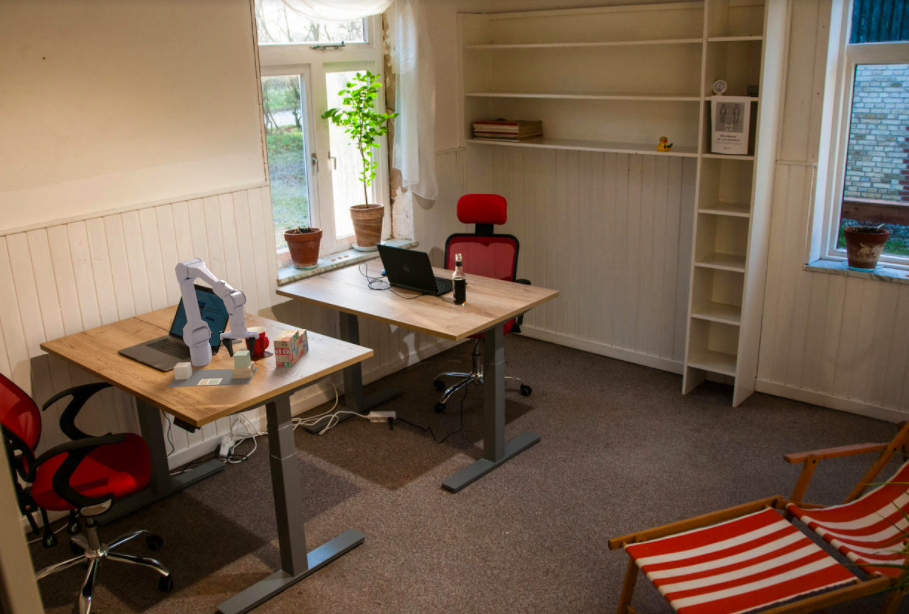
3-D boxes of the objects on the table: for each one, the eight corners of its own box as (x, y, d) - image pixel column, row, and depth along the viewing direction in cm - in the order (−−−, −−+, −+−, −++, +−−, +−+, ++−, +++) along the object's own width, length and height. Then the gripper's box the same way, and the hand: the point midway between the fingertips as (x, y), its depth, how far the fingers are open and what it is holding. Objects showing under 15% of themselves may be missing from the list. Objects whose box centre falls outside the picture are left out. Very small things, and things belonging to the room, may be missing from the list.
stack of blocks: (294, 349, 330) (291, 322, 326) (309, 349, 329) (306, 322, 325) (276, 369, 310) (273, 340, 306) (291, 369, 309) (288, 340, 305)
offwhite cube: (179, 374, 305) (177, 362, 304) (192, 374, 305) (190, 362, 304) (175, 379, 300) (173, 367, 299) (188, 379, 300) (186, 367, 299)
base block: (237, 371, 306) (236, 362, 305) (255, 370, 306) (254, 361, 305) (233, 378, 299) (231, 368, 298) (251, 377, 299) (249, 368, 298)
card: (201, 379, 299) (201, 378, 299) (222, 379, 299) (222, 378, 299) (197, 385, 294) (197, 384, 294) (218, 385, 294) (218, 384, 294)
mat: (180, 372, 309) (180, 370, 309) (258, 369, 309) (258, 367, 309) (166, 388, 294) (166, 387, 294) (248, 386, 294) (248, 384, 294)
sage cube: (238, 362, 304) (236, 351, 302) (251, 362, 304) (249, 350, 302) (234, 367, 299) (233, 355, 298) (247, 367, 299) (246, 355, 298)
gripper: (215, 326, 292) (220, 360, 297) (254, 325, 292) (258, 359, 297) (220, 320, 299) (225, 353, 303) (258, 319, 299) (262, 352, 303)
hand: (241, 356), depth 300 cm, fingers open, 7 cm apart
